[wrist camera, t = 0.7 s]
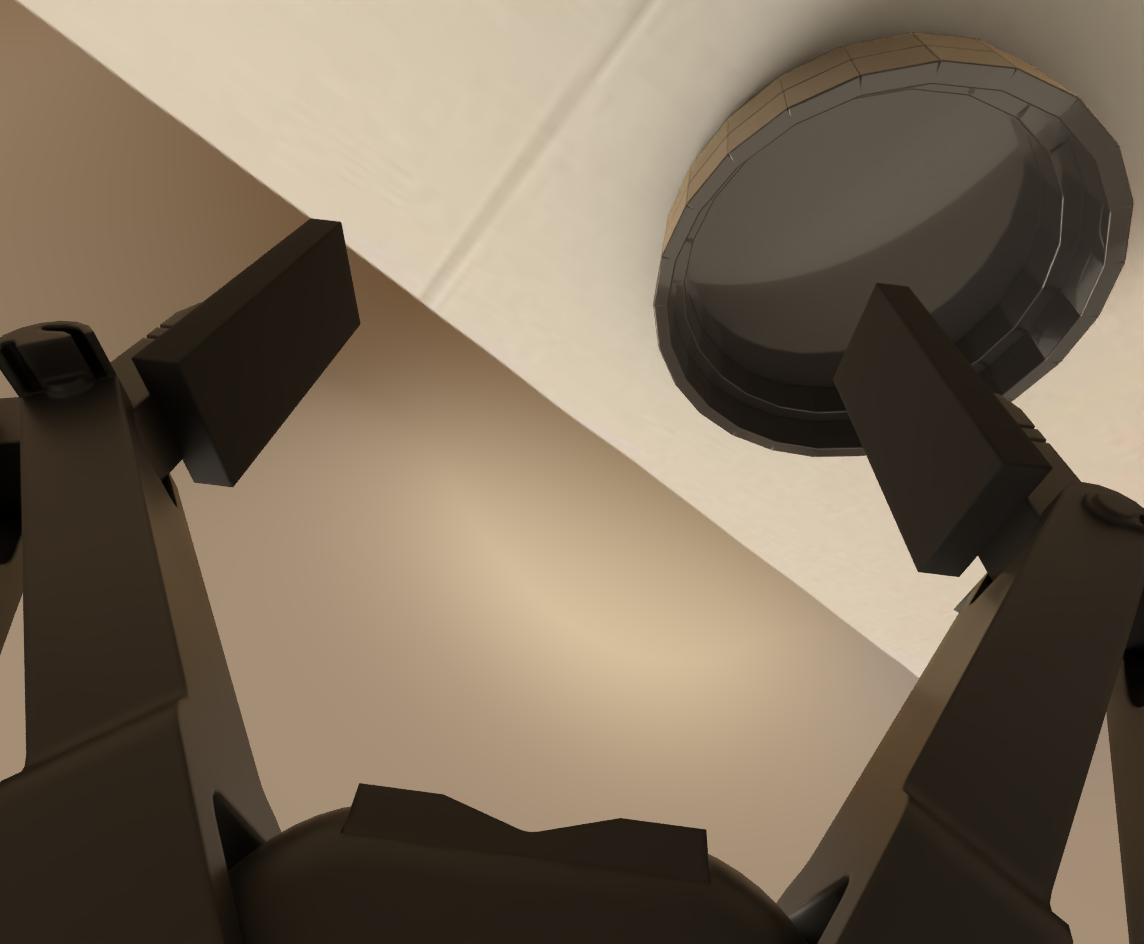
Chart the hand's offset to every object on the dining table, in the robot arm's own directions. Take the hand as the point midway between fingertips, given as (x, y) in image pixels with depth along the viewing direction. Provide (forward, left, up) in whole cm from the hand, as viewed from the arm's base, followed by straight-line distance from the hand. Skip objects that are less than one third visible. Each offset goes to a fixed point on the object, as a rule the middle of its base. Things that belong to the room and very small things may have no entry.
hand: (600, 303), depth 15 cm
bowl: (-10, +11, -22) cm, 26 cm away
